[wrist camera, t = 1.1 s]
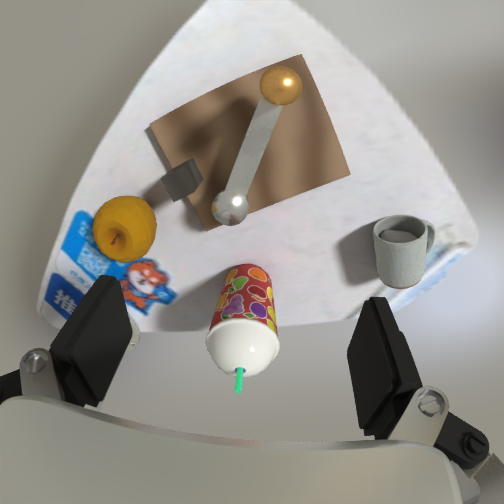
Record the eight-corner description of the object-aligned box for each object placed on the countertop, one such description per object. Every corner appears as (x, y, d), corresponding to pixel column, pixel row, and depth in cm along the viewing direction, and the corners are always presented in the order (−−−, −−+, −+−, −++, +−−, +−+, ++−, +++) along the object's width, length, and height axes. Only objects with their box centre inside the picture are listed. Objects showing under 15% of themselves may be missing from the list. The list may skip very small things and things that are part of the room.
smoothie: (235, 307, 48) (220, 416, 30) (211, 266, 44) (180, 374, 27) (284, 292, 46) (291, 403, 29) (264, 247, 43) (261, 356, 25)
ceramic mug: (371, 269, 44) (387, 300, 37) (365, 221, 40) (384, 247, 33) (430, 252, 42) (453, 278, 35) (429, 204, 38) (456, 226, 31)
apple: (104, 220, 42) (74, 248, 34) (126, 174, 38) (95, 194, 30) (150, 250, 44) (128, 284, 36) (176, 206, 40) (155, 235, 32)
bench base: (208, 226, 41) (198, 251, 35) (153, 123, 35) (130, 129, 28) (347, 171, 37) (363, 187, 31) (300, 55, 30) (307, 46, 24)
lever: (241, 223, 36) (233, 266, 28) (210, 212, 36) (192, 251, 27) (299, 83, 28) (313, 77, 20) (264, 70, 28) (263, 58, 19)
